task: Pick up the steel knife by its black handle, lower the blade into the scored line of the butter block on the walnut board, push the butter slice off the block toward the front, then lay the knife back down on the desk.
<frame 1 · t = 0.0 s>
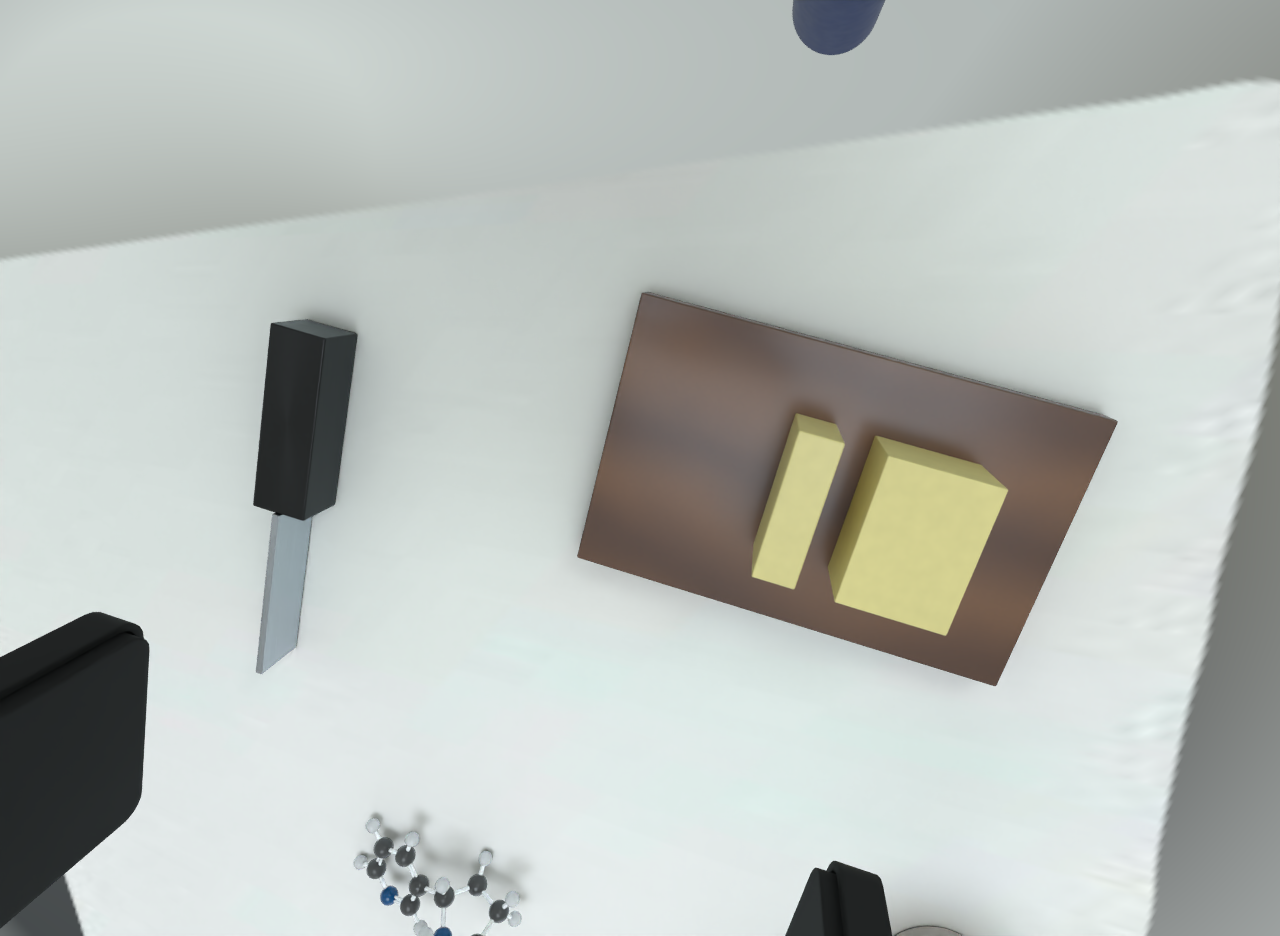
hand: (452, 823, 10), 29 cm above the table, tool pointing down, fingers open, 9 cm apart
knife: (321, 414, 40), on the table
butter block: (901, 518, 35), point 1 cm above the table, touching board
butter slice: (793, 486, 35), point 1 cm above the table, touching board
board: (821, 486, 37), on the table
molecule model: (444, 858, 47), on the table
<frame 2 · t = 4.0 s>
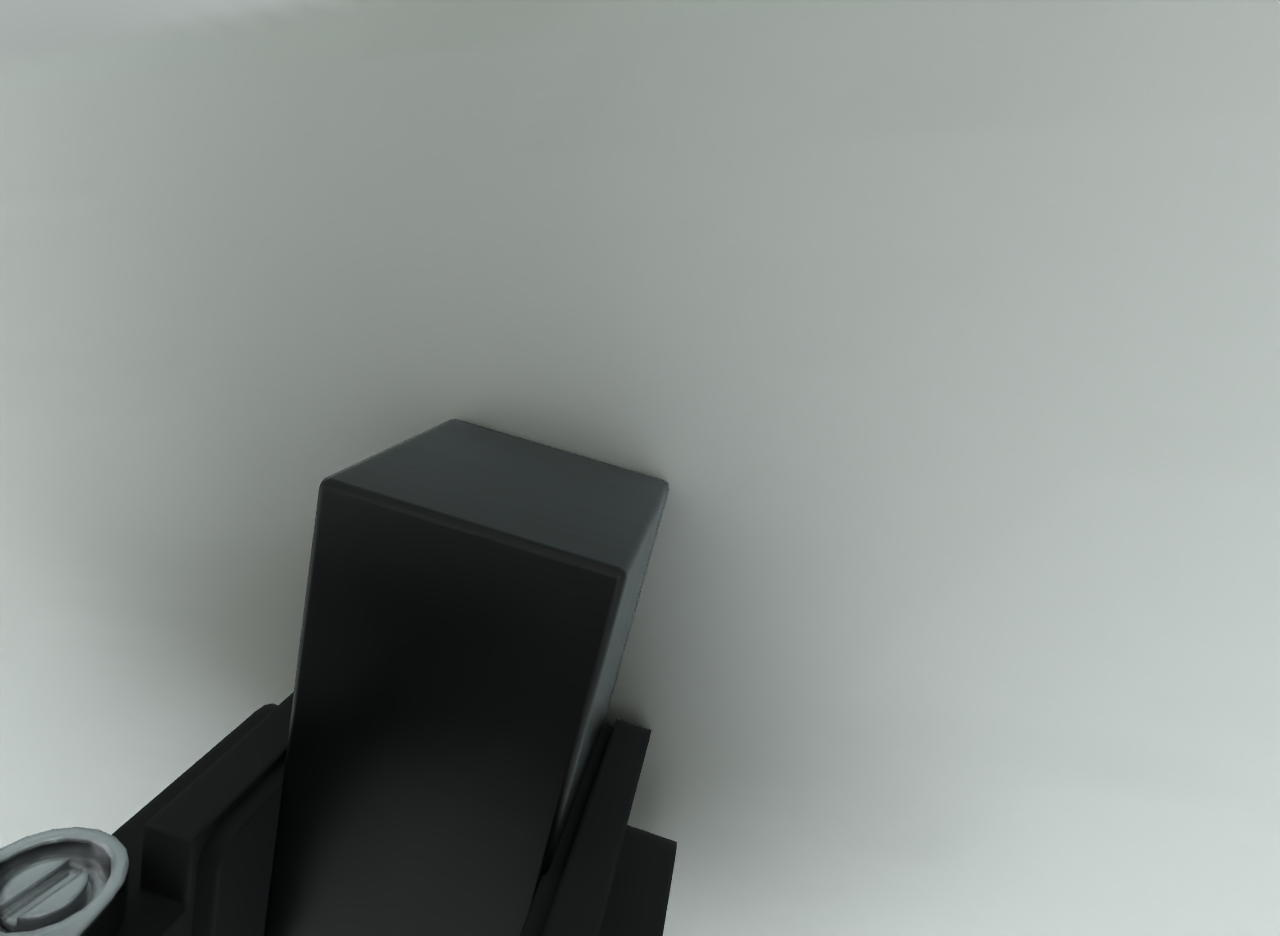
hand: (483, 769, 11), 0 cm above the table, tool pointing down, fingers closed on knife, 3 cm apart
knife: (489, 760, 11), on the table, touching gripper
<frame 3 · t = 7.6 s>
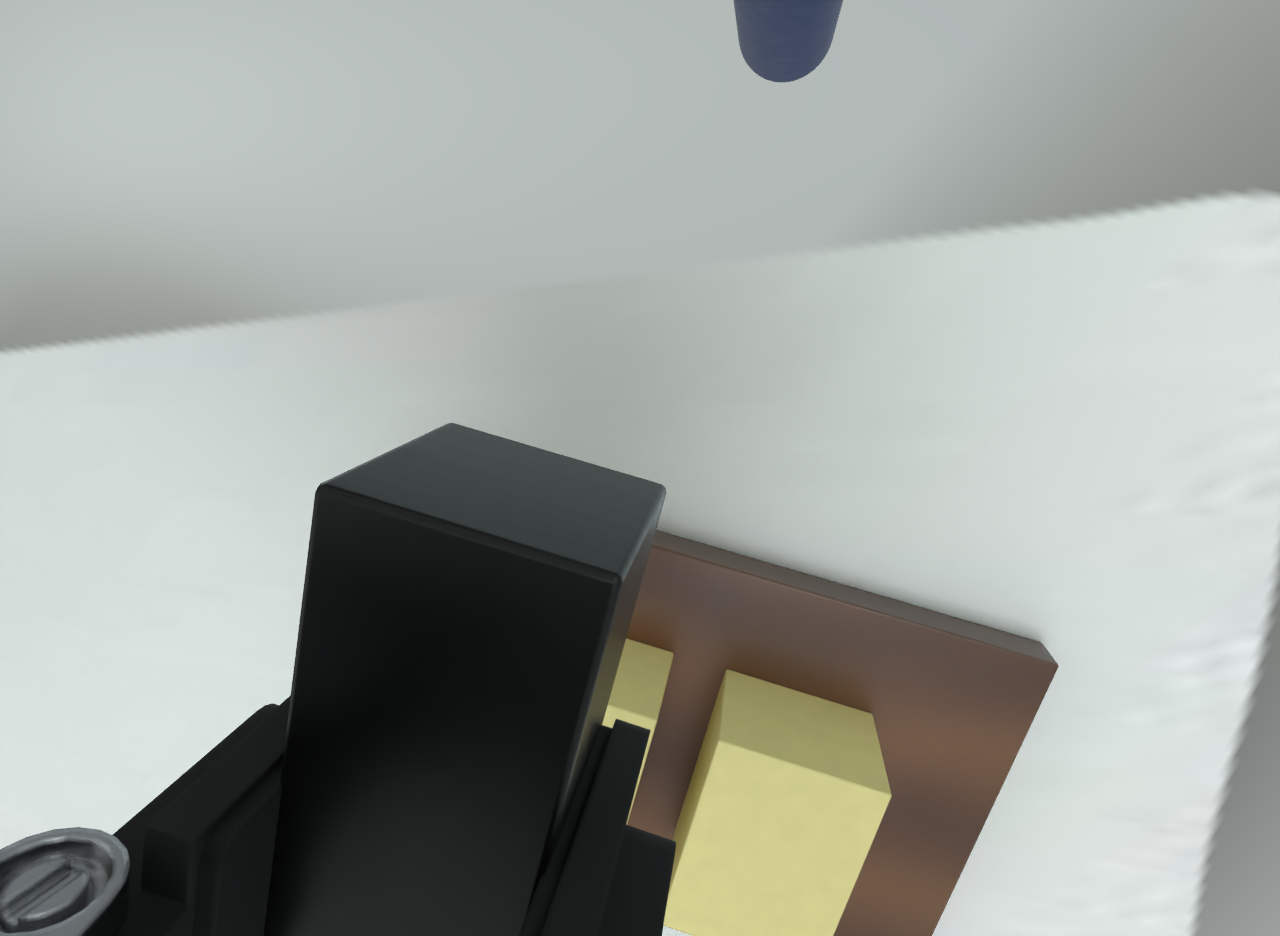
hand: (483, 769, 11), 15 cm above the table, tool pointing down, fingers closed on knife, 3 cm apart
knife: (487, 764, 11), point 15 cm above the table, touching gripper
butter block: (768, 775, 25), point 1 cm above the table, touching board
butter slice: (622, 728, 26), point 1 cm above the table, touching board
board: (669, 716, 27), on the table
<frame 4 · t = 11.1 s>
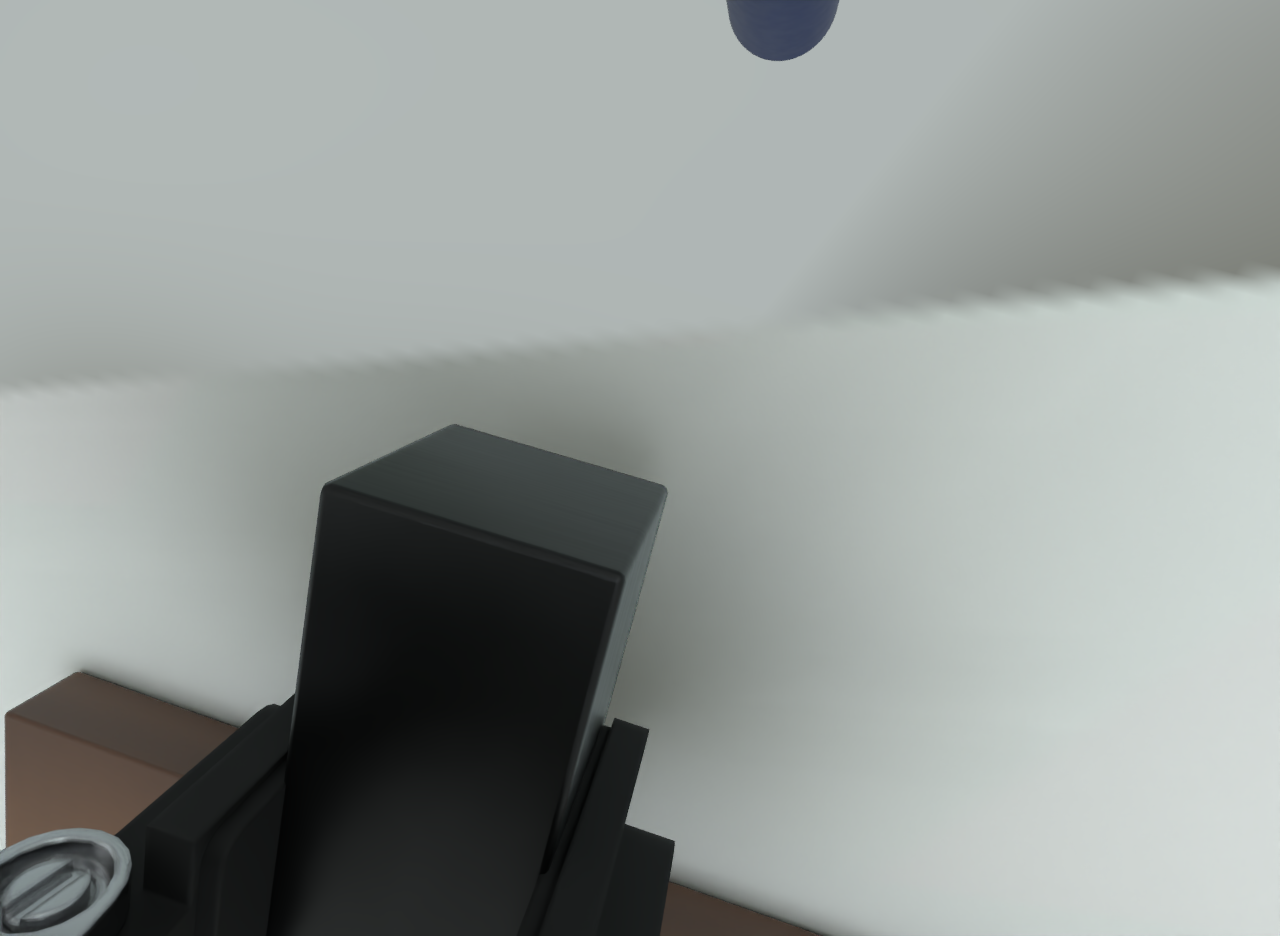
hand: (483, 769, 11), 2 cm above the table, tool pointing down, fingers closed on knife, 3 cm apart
knife: (489, 764, 11), point 2 cm above the table, touching butter slice, gripper
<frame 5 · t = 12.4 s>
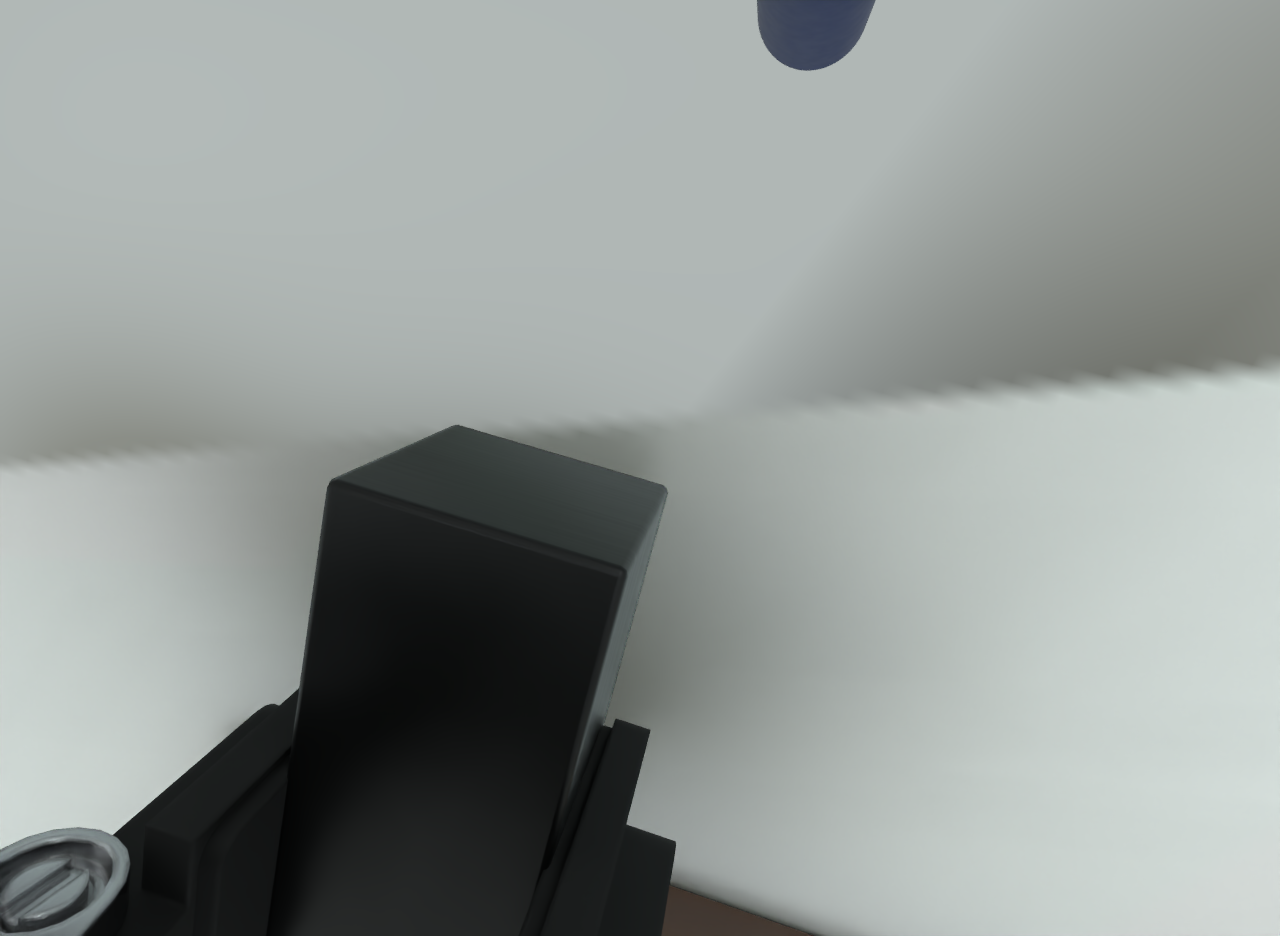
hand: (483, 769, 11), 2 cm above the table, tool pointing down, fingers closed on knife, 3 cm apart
knife: (489, 764, 11), point 2 cm above the table, touching gripper
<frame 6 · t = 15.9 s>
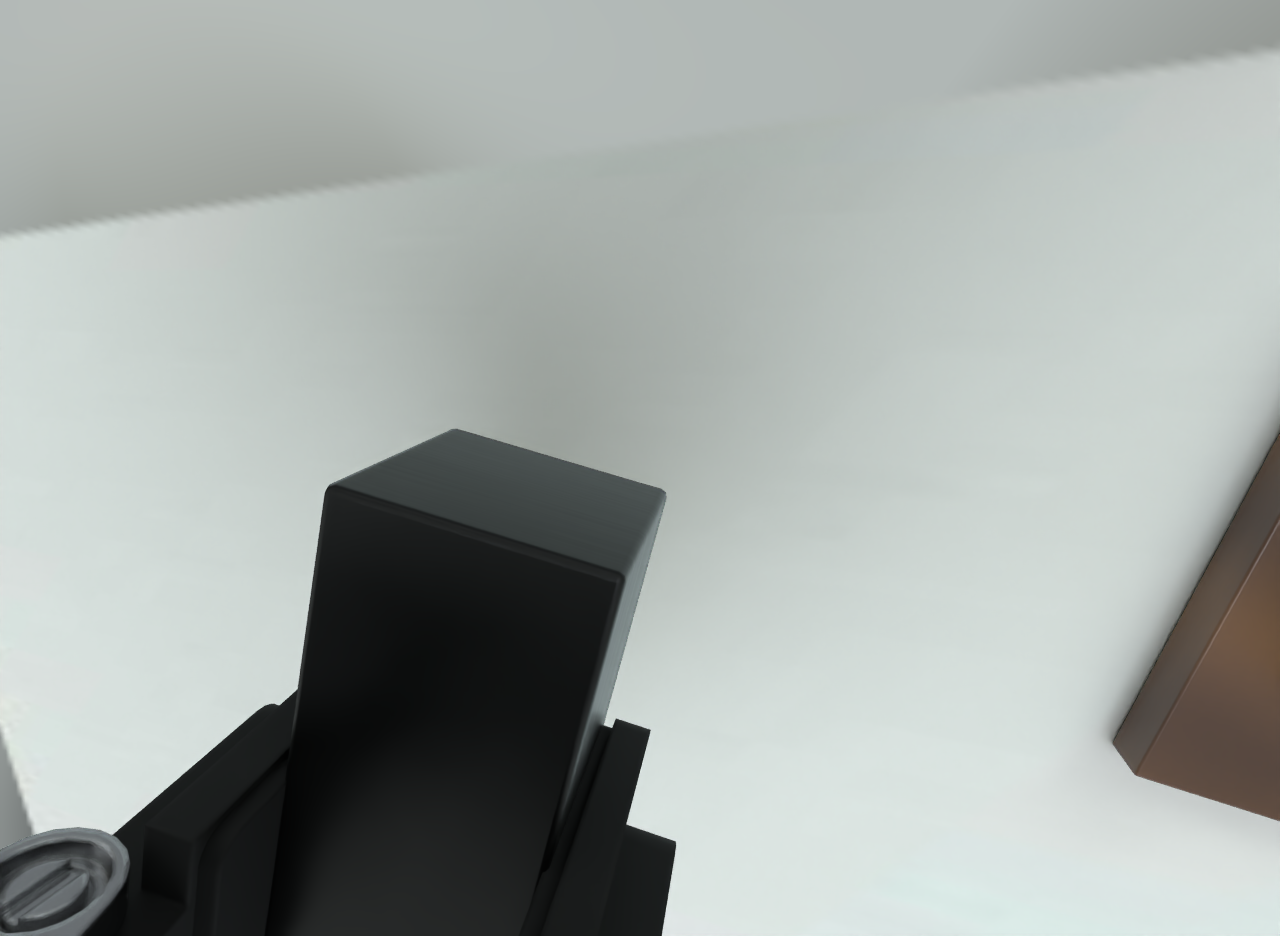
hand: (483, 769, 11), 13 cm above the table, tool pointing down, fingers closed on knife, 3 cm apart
knife: (487, 768, 11), point 12 cm above the table, touching gripper
when the fingers open (0 cm above the table, at t = 18.5 s): knife stays where it is, on the table.
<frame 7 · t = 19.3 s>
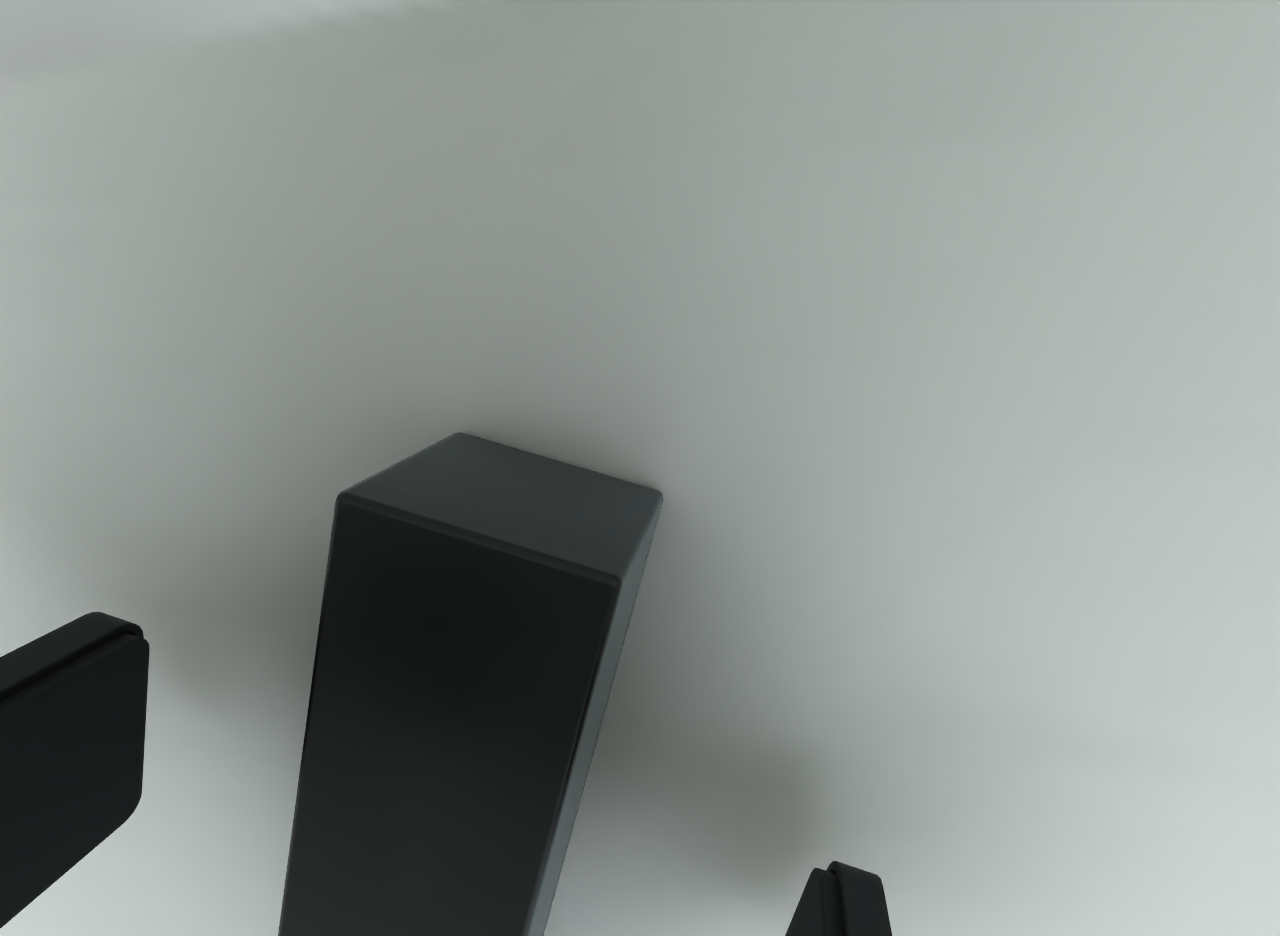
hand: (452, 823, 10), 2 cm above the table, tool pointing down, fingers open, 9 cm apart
knife: (492, 757, 11), on the table
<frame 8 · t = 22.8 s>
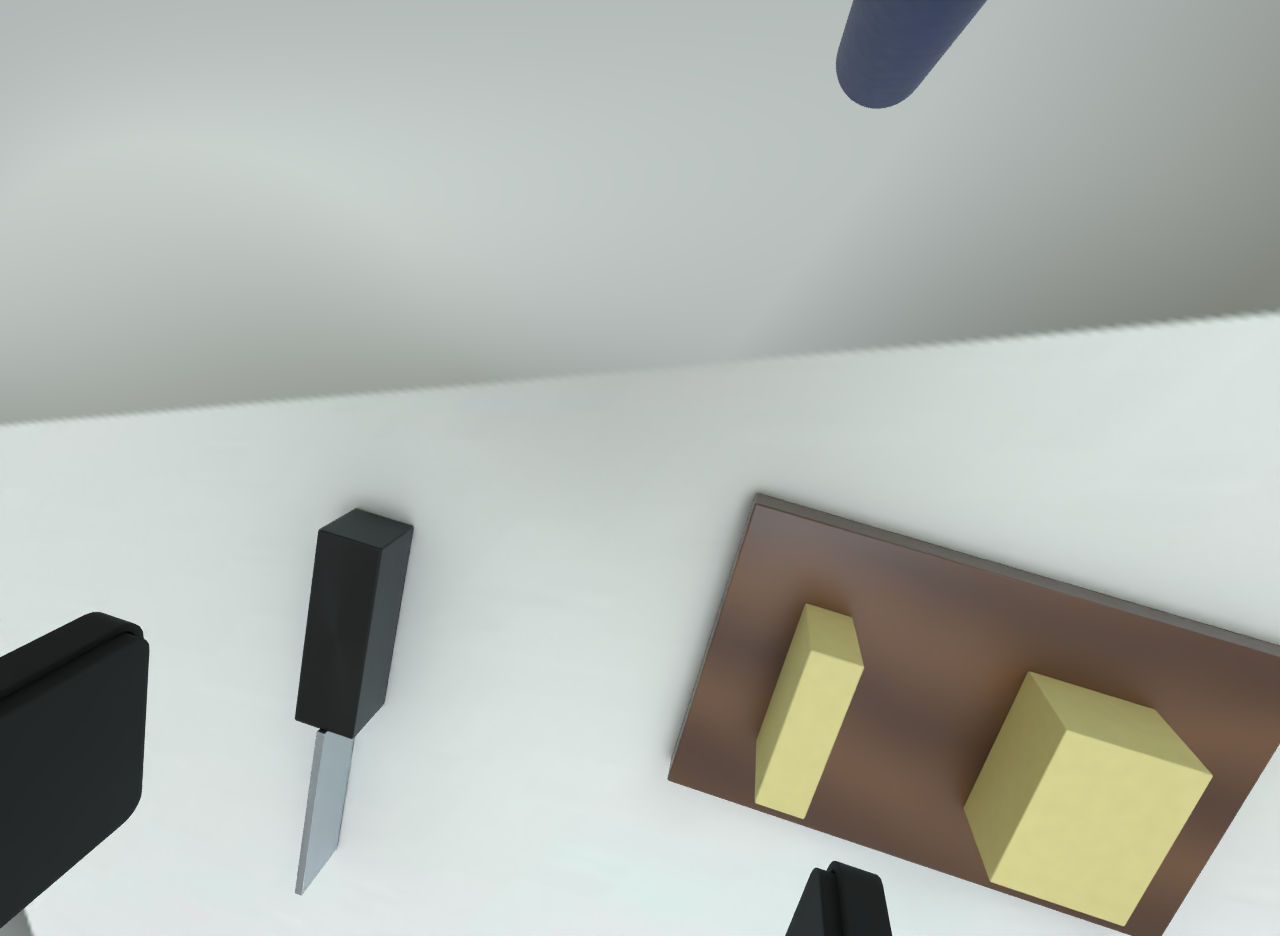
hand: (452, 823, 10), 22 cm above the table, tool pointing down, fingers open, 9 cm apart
knife: (370, 609, 36), on the table
butter block: (1055, 760, 30), point 1 cm above the table, touching board
butter slice: (802, 680, 31), point 1 cm above the table, touching board
board: (954, 710, 32), on the table
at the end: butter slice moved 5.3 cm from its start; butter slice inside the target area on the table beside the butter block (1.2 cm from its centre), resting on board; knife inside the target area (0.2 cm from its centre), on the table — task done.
